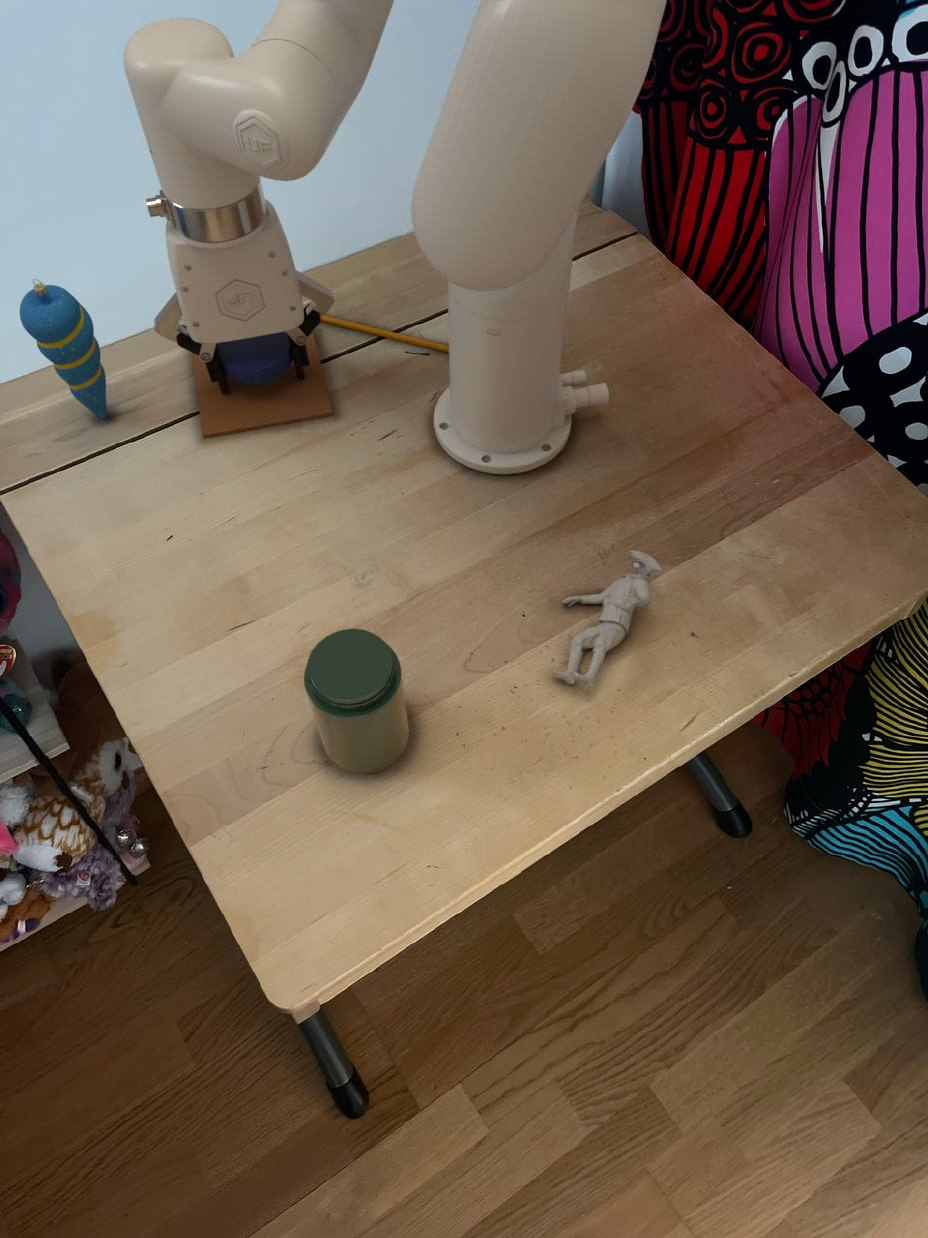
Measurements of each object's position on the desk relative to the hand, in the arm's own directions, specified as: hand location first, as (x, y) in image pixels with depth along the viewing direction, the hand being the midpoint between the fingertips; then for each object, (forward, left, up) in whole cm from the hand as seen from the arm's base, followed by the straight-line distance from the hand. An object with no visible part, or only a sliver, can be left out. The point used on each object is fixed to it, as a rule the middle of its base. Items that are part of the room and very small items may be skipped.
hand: (262, 375), depth 87 cm
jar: (-3, +39, -1) cm, 39 cm away
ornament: (+15, +1, -1) cm, 15 cm away
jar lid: (0, 0, +3) cm, 3 cm away
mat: (0, 0, -1) cm, 1 cm away
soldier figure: (-23, +35, -1) cm, 42 cm away
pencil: (-13, -4, -1) cm, 14 cm away
